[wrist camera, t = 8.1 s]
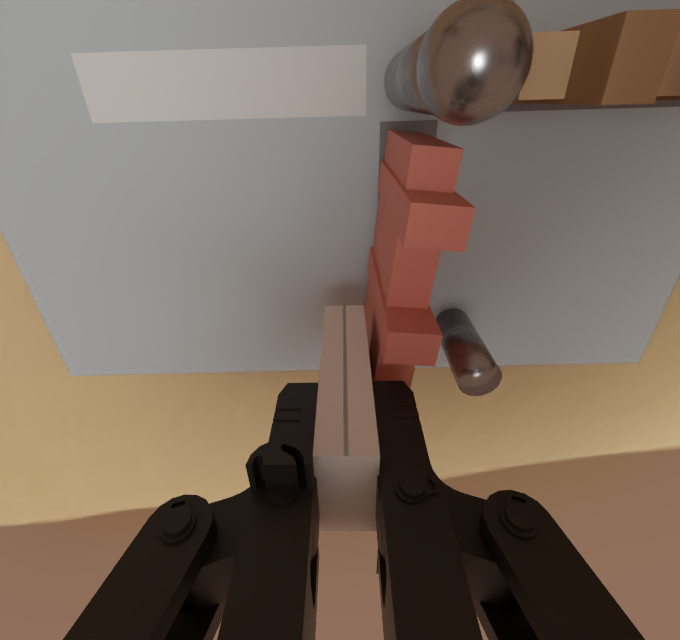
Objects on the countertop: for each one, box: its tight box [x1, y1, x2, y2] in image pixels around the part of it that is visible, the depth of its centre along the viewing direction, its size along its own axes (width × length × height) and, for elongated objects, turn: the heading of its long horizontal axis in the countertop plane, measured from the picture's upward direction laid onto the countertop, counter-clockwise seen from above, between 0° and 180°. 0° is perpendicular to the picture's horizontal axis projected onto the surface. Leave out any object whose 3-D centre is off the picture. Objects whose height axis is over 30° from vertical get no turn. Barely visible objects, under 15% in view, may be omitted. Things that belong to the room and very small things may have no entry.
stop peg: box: [436, 308, 502, 396], centre depth 16 cm, size 2×2×4 cm
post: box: [384, 0, 534, 126], centre depth 9 cm, size 2×2×8 cm
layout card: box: [0, 0, 680, 376], centre depth 15 cm, size 28×16×1 cm, turn 91°
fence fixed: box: [512, 9, 680, 105], centre depth 10 cm, size 9×1×6 cm, turn 91°
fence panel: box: [364, 129, 476, 388], centre depth 13 cm, size 10×1×6 cm, turn 175°
